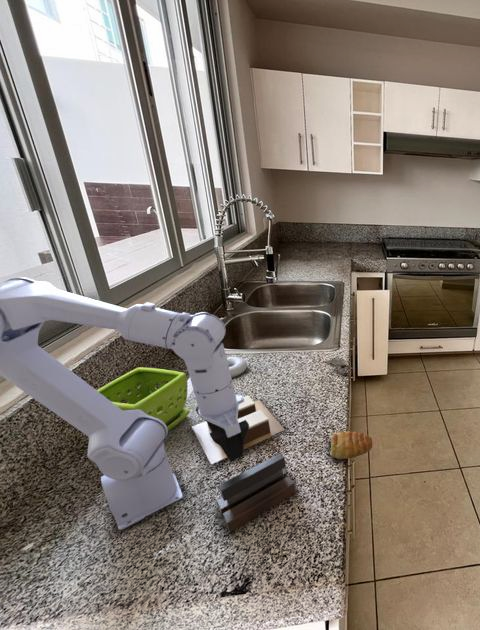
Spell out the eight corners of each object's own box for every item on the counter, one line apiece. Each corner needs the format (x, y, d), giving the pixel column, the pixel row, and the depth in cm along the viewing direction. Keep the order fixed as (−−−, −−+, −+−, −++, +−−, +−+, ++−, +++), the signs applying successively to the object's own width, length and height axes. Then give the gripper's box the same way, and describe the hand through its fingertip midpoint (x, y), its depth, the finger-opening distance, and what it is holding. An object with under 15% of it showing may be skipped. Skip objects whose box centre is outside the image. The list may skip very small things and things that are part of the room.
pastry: (371, 436, 82) (371, 423, 80) (373, 457, 76) (373, 444, 74) (331, 440, 80) (329, 427, 78) (329, 463, 74) (328, 449, 72)
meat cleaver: (343, 358, 116) (328, 361, 115) (343, 355, 116) (328, 357, 114) (349, 375, 106) (332, 378, 104) (348, 371, 105) (332, 374, 104)
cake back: (213, 434, 80) (209, 421, 78) (207, 425, 83) (204, 411, 81) (257, 416, 86) (254, 403, 85) (250, 407, 90) (248, 394, 88)
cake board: (211, 466, 72) (211, 464, 72) (191, 428, 83) (191, 426, 82) (285, 431, 83) (285, 429, 82) (259, 401, 93) (259, 399, 93)
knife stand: (229, 533, 59) (227, 523, 58) (218, 510, 63) (216, 500, 62) (296, 492, 67) (294, 483, 66) (282, 474, 71) (281, 465, 70)
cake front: (224, 453, 75) (221, 439, 73) (218, 442, 78) (214, 428, 76) (270, 432, 81) (268, 418, 80) (262, 422, 84) (260, 409, 83)
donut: (254, 371, 107) (237, 360, 113) (252, 361, 106) (235, 351, 111) (221, 385, 100) (205, 373, 105) (219, 375, 98) (202, 363, 104)
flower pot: (153, 407, 89) (139, 365, 85) (199, 415, 87) (188, 372, 82) (96, 445, 77) (77, 398, 72) (149, 455, 74) (133, 407, 70)
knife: (229, 521, 61) (221, 490, 58) (226, 515, 62) (218, 485, 59) (289, 486, 68) (284, 457, 65) (285, 481, 69) (280, 452, 66)
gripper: (253, 392, 56) (266, 456, 61) (224, 360, 66) (238, 418, 71) (204, 411, 52) (223, 478, 57) (182, 374, 61) (199, 434, 66)
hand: (229, 446), depth 64 cm, fingers open, 7 cm apart
